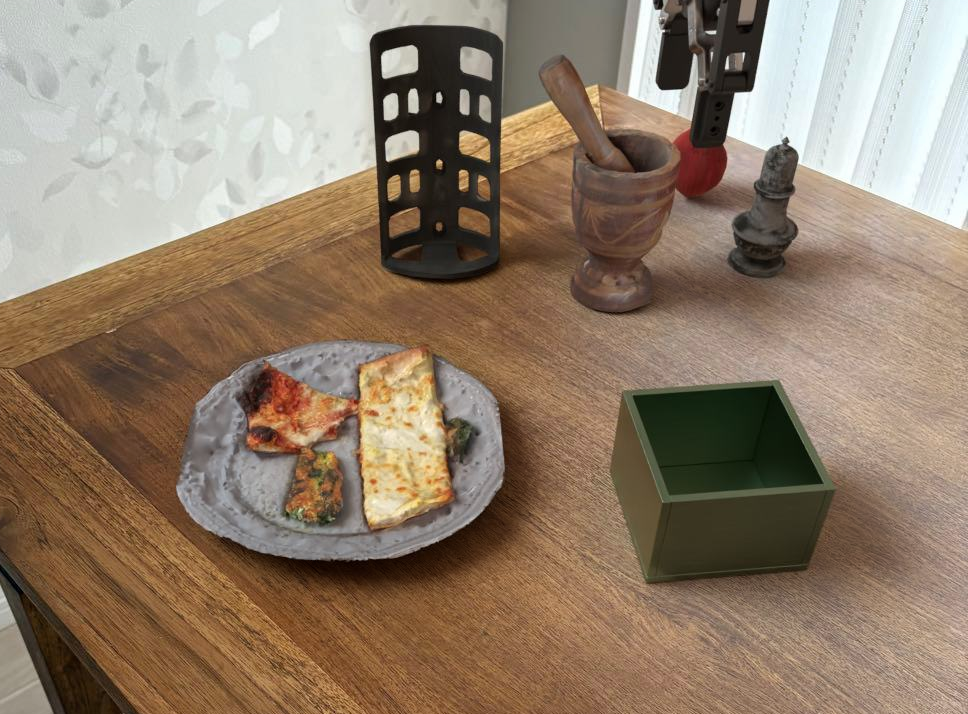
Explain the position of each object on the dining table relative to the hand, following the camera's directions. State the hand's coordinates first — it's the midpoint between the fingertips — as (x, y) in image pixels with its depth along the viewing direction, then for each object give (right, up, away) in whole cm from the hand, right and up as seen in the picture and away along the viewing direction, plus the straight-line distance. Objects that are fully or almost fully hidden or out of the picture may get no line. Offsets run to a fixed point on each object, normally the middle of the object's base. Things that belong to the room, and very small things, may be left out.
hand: (687, 115), depth 74 cm
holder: (-16, -2, +29) cm, 33 cm away
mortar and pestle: (-3, -6, +25) cm, 26 cm away
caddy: (+2, -27, +5) cm, 27 cm away
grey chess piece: (+13, -3, +28) cm, 31 cm away
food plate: (-24, -22, +9) cm, 34 cm away
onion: (+9, +5, +36) cm, 37 cm away
